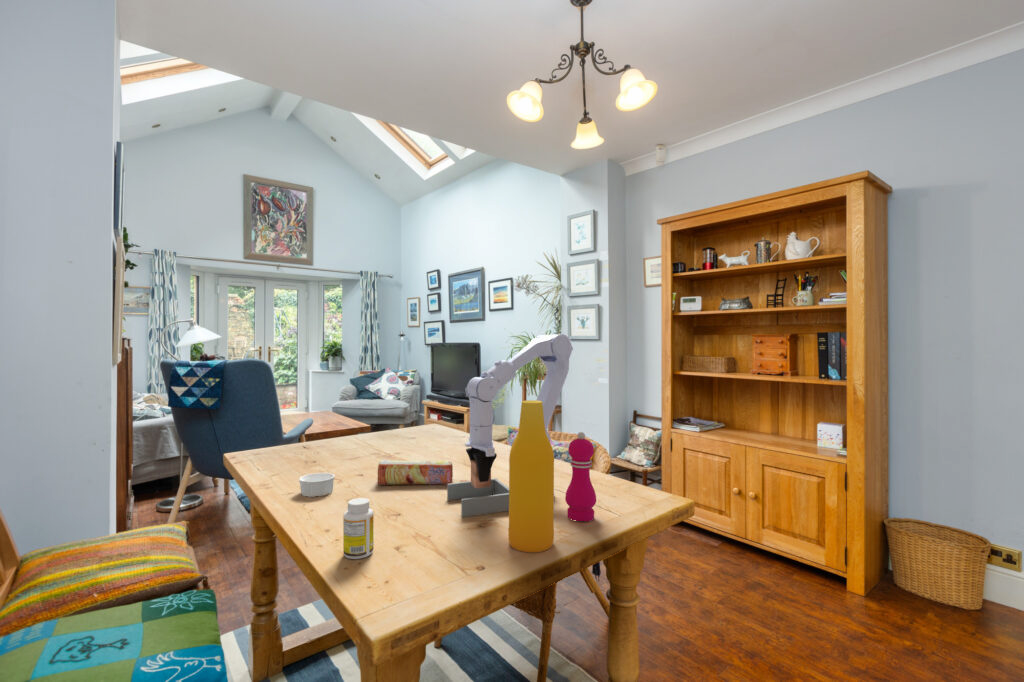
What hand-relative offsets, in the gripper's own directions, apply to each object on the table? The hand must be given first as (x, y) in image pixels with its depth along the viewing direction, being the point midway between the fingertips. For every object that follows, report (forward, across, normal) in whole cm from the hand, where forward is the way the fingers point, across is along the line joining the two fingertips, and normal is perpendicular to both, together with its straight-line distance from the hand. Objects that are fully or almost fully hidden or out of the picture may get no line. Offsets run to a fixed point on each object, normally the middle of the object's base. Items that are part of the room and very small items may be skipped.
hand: (480, 478), depth 122 cm
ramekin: (+7, -25, -38) cm, 46 cm away
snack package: (+7, -24, -12) cm, 28 cm away
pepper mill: (+7, +17, +19) cm, 26 cm away
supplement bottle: (+6, +18, -31) cm, 37 cm away
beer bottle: (+7, +26, +2) cm, 27 cm away
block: (+2, 0, 0) cm, 2 cm away
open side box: (+6, 0, 0) cm, 6 cm away
